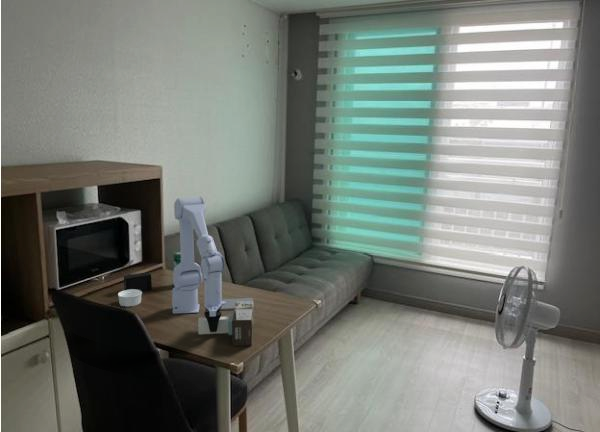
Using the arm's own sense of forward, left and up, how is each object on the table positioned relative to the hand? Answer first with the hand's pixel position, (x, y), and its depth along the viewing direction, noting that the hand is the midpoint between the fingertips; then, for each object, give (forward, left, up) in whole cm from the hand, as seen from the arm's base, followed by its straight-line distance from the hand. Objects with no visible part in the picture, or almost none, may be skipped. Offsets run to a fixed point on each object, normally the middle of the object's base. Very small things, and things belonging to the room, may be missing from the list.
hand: (213, 328), depth 157 cm
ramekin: (-33, +30, -2) cm, 45 cm away
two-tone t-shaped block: (0, 0, -2) cm, 2 cm away
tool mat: (+6, +24, -1) cm, 25 cm away
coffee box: (+11, +5, +3) cm, 12 cm away
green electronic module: (-15, +49, -2) cm, 51 cm away
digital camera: (-33, +45, -2) cm, 55 cm away
